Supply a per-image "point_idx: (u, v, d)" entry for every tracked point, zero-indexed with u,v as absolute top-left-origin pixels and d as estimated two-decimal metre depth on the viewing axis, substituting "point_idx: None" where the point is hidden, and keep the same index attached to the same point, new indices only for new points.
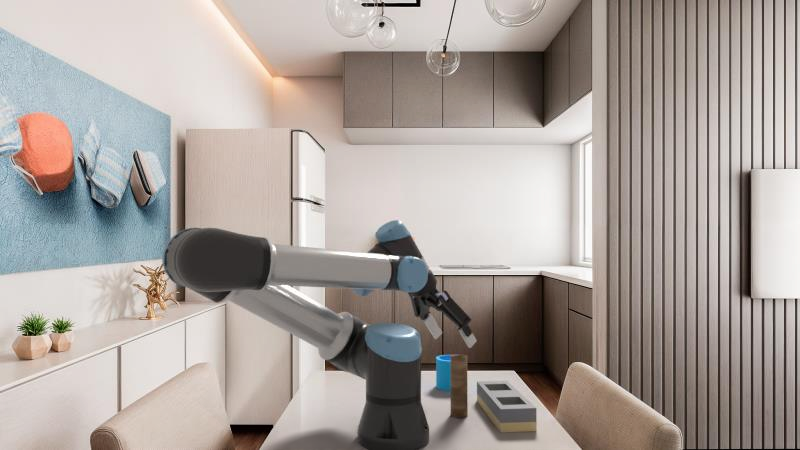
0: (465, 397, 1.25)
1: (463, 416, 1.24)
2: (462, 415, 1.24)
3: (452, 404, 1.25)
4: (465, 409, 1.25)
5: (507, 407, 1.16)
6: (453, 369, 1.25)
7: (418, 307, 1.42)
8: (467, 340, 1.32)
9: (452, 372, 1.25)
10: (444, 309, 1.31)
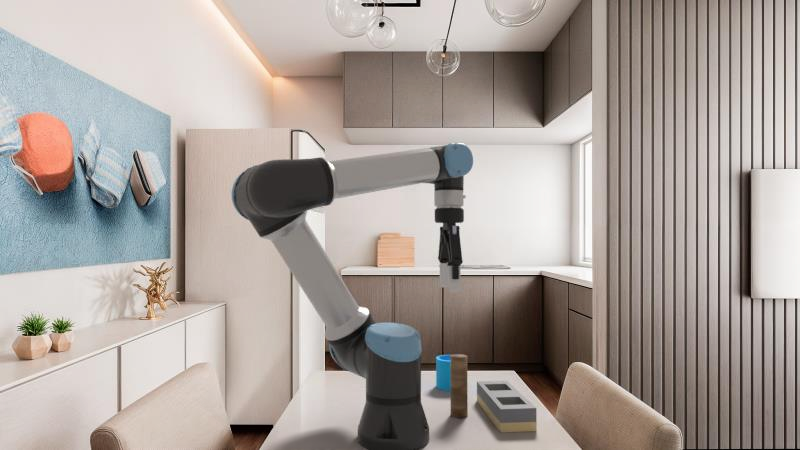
0: (465, 397, 1.25)
1: (463, 416, 1.24)
2: (462, 415, 1.24)
3: (452, 404, 1.25)
4: (465, 409, 1.25)
5: (507, 407, 1.16)
6: (453, 369, 1.25)
7: None
8: (451, 283, 1.30)
9: (452, 372, 1.25)
10: (449, 244, 1.32)
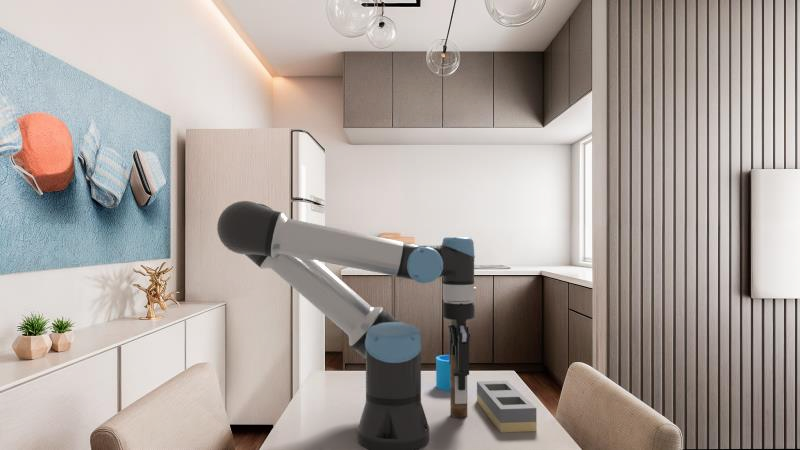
0: None
1: (463, 416, 1.24)
2: (462, 415, 1.24)
3: (452, 404, 1.25)
4: (465, 409, 1.25)
5: (507, 407, 1.16)
6: (453, 369, 1.25)
7: None
8: (457, 394, 1.23)
9: (452, 372, 1.25)
10: (458, 349, 1.24)
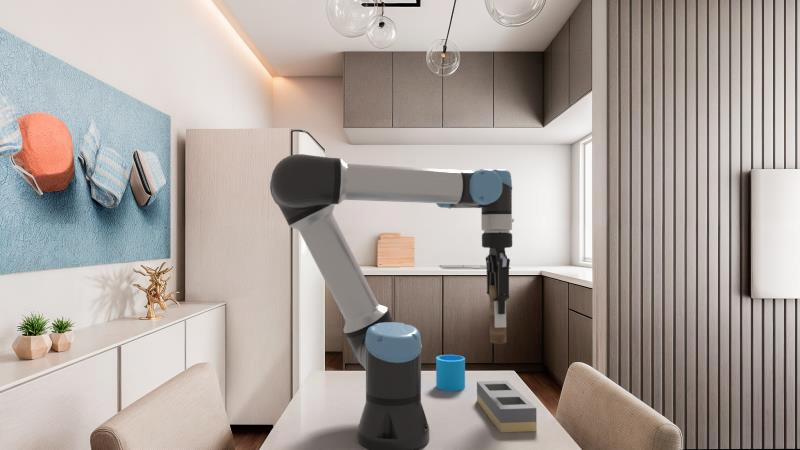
0: None
1: (502, 342, 1.30)
2: (501, 341, 1.30)
3: (492, 331, 1.31)
4: (504, 335, 1.31)
5: (507, 407, 1.16)
6: (492, 297, 1.31)
7: None
8: (496, 318, 1.30)
9: (491, 300, 1.31)
10: (497, 275, 1.30)
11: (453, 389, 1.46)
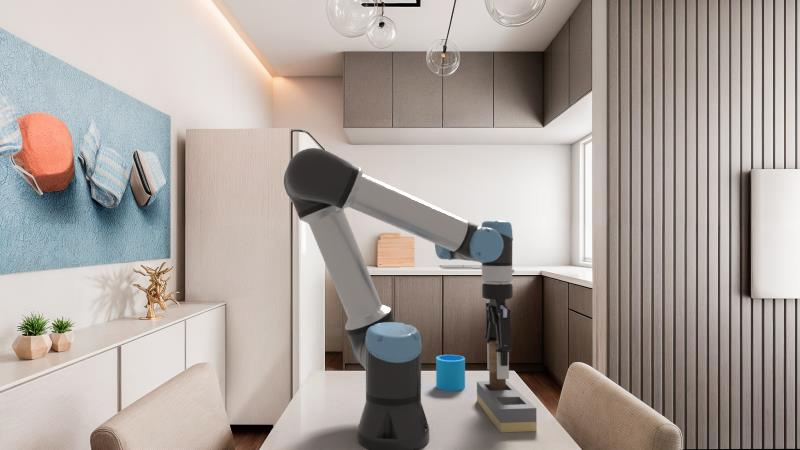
0: (504, 381, 1.31)
1: None
2: None
3: (491, 388, 1.31)
4: None
5: (507, 407, 1.16)
6: (492, 355, 1.31)
7: None
8: (499, 369, 1.27)
9: (491, 357, 1.31)
10: (498, 326, 1.29)
11: (453, 389, 1.46)
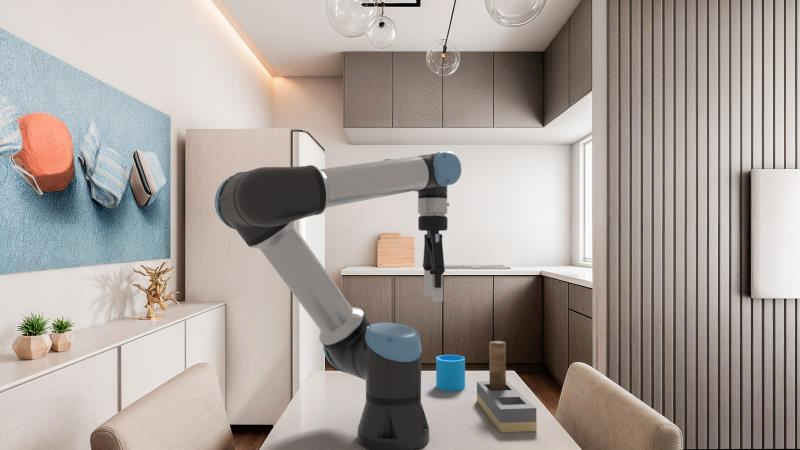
0: (504, 381, 1.31)
1: None
2: None
3: (491, 388, 1.31)
4: None
5: (507, 407, 1.16)
6: (492, 355, 1.31)
7: None
8: (433, 292, 1.29)
9: (491, 358, 1.31)
10: (432, 252, 1.32)
11: (453, 389, 1.46)
